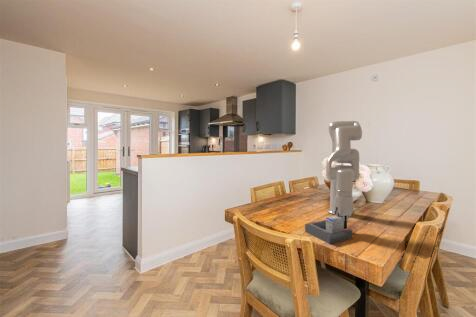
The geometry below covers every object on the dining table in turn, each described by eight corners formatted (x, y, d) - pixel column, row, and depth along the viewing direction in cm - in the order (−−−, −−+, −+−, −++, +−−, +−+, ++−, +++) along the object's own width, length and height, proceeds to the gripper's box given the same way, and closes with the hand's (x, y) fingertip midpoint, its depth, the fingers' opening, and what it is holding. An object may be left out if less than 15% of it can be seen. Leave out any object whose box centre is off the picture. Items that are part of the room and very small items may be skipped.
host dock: (326, 227, 124) (326, 218, 123) (352, 238, 109) (352, 228, 109) (305, 231, 117) (305, 223, 117) (329, 244, 103) (329, 234, 102)
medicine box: (337, 231, 118) (337, 215, 117) (344, 234, 113) (344, 217, 113) (325, 233, 114) (325, 217, 114) (332, 237, 110) (332, 219, 110)
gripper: (347, 190, 123) (346, 223, 124) (327, 193, 117) (327, 228, 118) (360, 193, 117) (359, 228, 118) (340, 196, 110) (339, 233, 111)
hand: (343, 228), depth 118 cm, fingers closed
